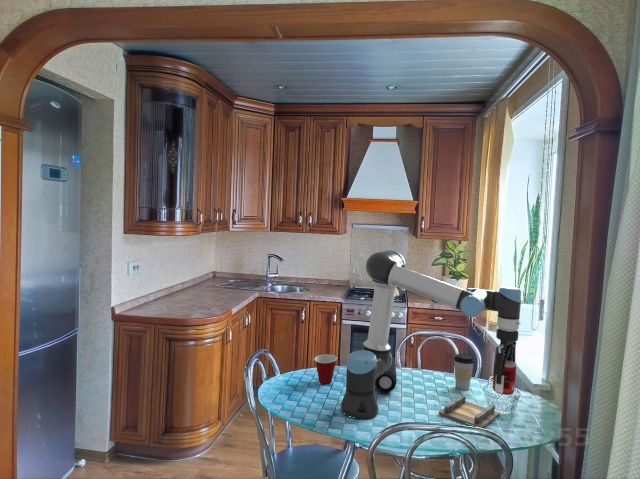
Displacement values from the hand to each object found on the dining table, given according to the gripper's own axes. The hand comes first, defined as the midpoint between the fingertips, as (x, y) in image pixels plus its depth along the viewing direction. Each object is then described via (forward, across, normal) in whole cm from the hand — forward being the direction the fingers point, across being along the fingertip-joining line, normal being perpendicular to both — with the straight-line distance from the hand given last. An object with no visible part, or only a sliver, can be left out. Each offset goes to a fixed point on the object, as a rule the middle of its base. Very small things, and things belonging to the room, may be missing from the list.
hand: (503, 388), depth 175 cm
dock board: (+17, +6, +15) cm, 23 cm away
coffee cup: (+17, +32, +30) cm, 47 cm away
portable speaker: (+17, +9, +58) cm, 61 cm away
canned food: (+1, 0, 0) cm, 1 cm away
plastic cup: (+17, -11, +78) cm, 80 cm away
